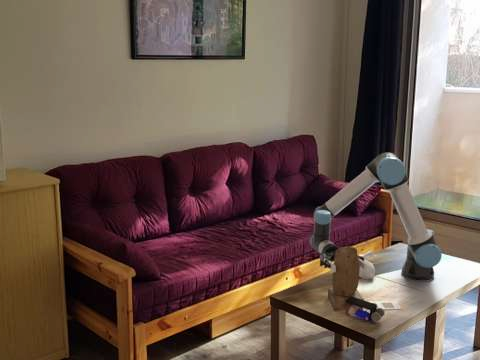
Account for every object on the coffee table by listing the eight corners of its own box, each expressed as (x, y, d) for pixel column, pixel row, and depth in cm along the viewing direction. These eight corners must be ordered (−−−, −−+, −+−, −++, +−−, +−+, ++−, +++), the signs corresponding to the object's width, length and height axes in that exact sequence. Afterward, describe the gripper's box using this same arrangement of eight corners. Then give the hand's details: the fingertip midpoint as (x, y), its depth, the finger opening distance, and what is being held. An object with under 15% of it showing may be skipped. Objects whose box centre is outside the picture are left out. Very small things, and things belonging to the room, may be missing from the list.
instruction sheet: (394, 301, 252) (394, 300, 252) (401, 309, 244) (401, 308, 244) (360, 302, 250) (360, 301, 250) (366, 310, 243) (366, 309, 243)
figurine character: (383, 324, 234) (348, 310, 242) (386, 307, 232) (351, 293, 239) (377, 330, 228) (341, 316, 236) (380, 313, 226) (344, 299, 234)
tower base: (354, 297, 255) (355, 287, 254) (362, 310, 242) (363, 299, 241) (327, 298, 254) (328, 287, 253) (334, 311, 241) (335, 299, 240)
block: (343, 299, 241) (346, 253, 236) (329, 293, 247) (332, 248, 242) (360, 293, 247) (363, 248, 243) (347, 287, 253) (350, 243, 249)
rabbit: (352, 272, 284) (354, 249, 281) (369, 270, 287) (371, 247, 284) (365, 282, 273) (367, 257, 270) (382, 280, 276) (384, 255, 273)
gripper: (354, 257, 266) (376, 274, 246) (303, 260, 260) (321, 278, 240) (355, 241, 264) (378, 257, 244) (303, 244, 258) (322, 261, 238)
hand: (350, 267), depth 242 cm, fingers open, 13 cm apart
